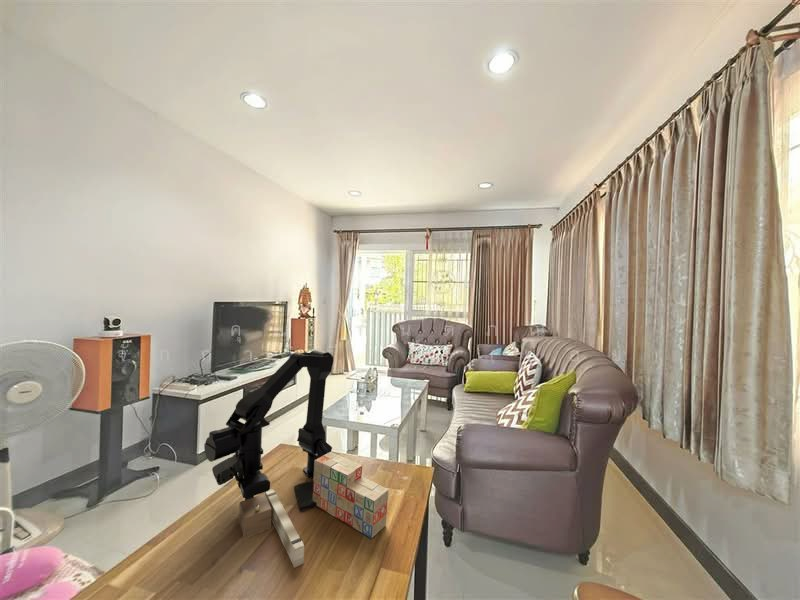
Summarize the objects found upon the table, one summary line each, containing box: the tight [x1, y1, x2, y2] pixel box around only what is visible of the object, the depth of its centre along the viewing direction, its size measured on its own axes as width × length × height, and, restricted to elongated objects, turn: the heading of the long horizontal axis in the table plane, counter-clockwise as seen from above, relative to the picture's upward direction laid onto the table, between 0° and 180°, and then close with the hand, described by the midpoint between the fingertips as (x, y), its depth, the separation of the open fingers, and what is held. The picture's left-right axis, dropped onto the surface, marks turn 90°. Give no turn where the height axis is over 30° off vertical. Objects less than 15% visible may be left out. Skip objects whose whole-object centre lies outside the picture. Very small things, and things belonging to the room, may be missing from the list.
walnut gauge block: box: [238, 493, 272, 539], centre depth 79 cm, size 7×6×6 cm
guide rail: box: [264, 488, 305, 568], centre depth 77 cm, size 24×2×4 cm, turn 37°
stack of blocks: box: [312, 451, 390, 539], centre depth 84 cm, size 21×6×12 cm, turn 56°
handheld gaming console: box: [293, 479, 318, 512], centre depth 91 cm, size 12×7×10 cm
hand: (248, 503), depth 85 cm, fingers closed
